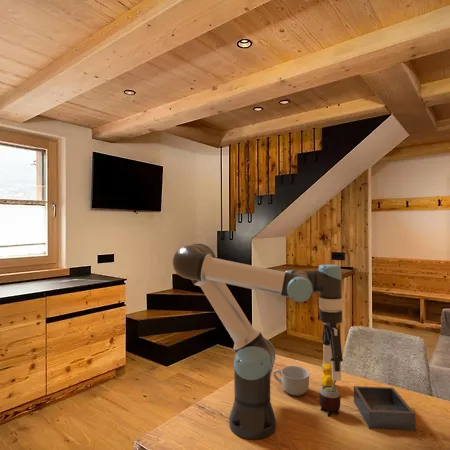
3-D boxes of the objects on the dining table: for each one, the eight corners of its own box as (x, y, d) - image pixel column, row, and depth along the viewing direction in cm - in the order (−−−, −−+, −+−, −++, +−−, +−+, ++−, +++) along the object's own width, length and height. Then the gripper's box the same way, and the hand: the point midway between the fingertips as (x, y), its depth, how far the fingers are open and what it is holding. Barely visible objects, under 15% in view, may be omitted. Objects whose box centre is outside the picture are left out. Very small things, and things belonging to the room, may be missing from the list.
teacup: (313, 389, 132) (313, 369, 132) (303, 401, 123) (303, 380, 123) (280, 381, 140) (280, 361, 140) (269, 392, 131) (269, 371, 131)
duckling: (320, 380, 141) (320, 356, 141) (333, 381, 139) (333, 357, 139) (322, 393, 130) (321, 367, 130) (336, 394, 128) (336, 368, 128)
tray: (369, 428, 107) (369, 411, 107) (353, 401, 124) (353, 386, 124) (415, 431, 105) (415, 413, 106) (393, 402, 122) (393, 387, 122)
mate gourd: (321, 404, 121) (320, 363, 121) (344, 410, 118) (344, 367, 118) (317, 415, 114) (317, 371, 114) (341, 421, 111) (341, 375, 111)
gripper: (352, 319, 103) (353, 388, 103) (333, 301, 128) (334, 357, 128) (327, 319, 104) (328, 388, 104) (313, 301, 129) (314, 356, 129)
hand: (331, 371), depth 116 cm, fingers open, 13 cm apart
